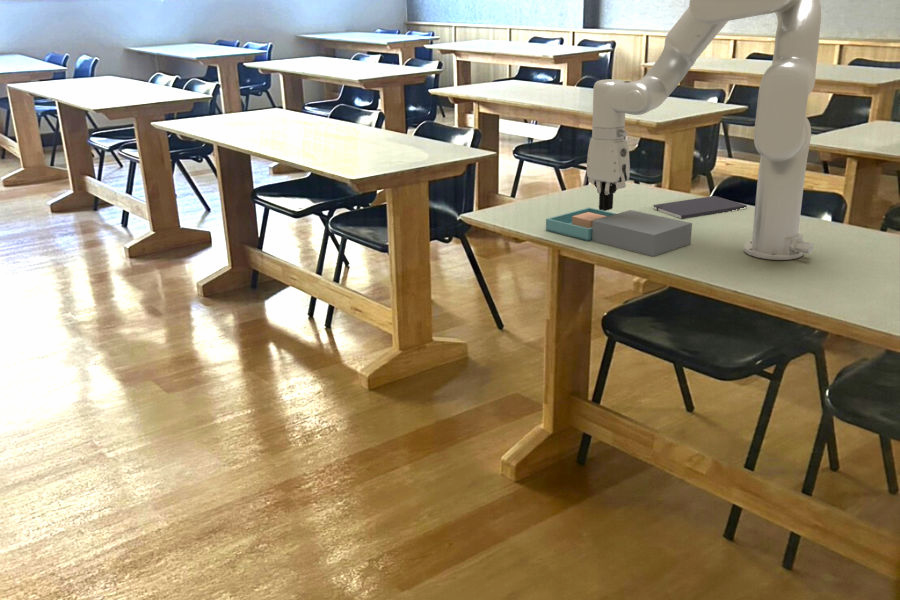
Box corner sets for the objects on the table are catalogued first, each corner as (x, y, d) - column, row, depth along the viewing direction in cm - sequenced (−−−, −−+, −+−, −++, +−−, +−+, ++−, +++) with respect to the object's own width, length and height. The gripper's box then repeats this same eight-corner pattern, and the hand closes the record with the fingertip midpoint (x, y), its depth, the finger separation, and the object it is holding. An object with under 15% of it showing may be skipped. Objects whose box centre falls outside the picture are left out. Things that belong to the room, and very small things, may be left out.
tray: (631, 228, 216) (631, 216, 215) (588, 241, 207) (588, 229, 206) (588, 218, 226) (589, 207, 225) (545, 230, 217) (546, 218, 216)
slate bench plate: (690, 243, 202) (692, 223, 201) (653, 256, 194) (654, 235, 192) (629, 229, 215) (630, 209, 214) (592, 240, 207) (592, 220, 205)
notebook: (681, 221, 223) (746, 210, 231) (681, 215, 223) (746, 205, 231) (651, 210, 234) (714, 201, 242) (651, 205, 234) (715, 195, 242)
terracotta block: (588, 212, 219) (588, 223, 220) (572, 216, 215) (571, 227, 216) (606, 216, 215) (606, 227, 216) (590, 220, 211) (590, 232, 212)
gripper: (643, 135, 201) (640, 211, 207) (594, 128, 212) (592, 201, 218) (622, 139, 197) (619, 217, 203) (573, 132, 207) (572, 207, 214)
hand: (605, 209), depth 211 cm, fingers closed
